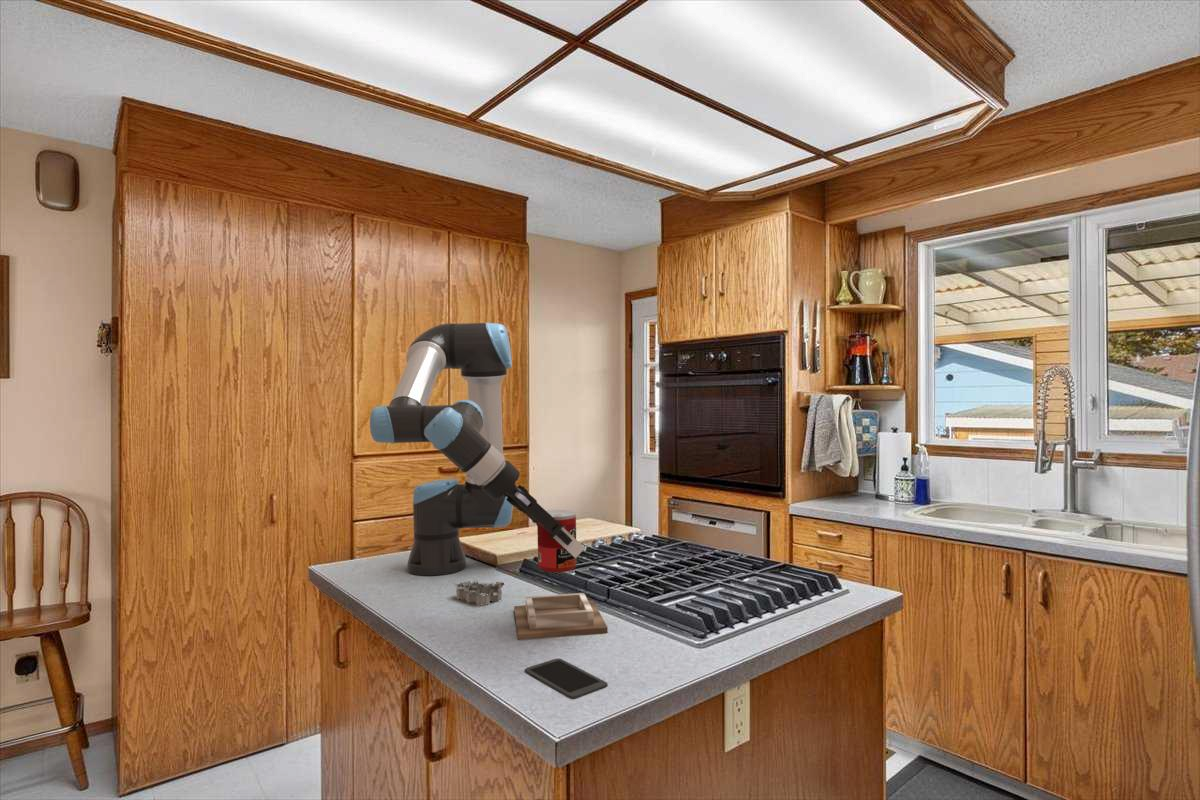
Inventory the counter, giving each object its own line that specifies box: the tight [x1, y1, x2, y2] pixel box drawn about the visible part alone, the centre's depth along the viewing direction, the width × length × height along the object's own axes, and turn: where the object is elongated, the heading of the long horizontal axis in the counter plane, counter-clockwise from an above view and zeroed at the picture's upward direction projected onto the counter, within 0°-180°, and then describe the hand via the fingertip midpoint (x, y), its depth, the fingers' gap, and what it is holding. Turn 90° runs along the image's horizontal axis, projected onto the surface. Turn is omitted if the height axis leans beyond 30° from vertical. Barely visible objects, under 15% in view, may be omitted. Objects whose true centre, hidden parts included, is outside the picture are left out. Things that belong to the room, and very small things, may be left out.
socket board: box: [513, 592, 609, 641], centre depth 135 cm, size 17×17×4 cm
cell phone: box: [524, 657, 609, 700], centre depth 108 cm, size 7×14×1 cm, turn 39°
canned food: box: [536, 509, 577, 573], centre depth 135 cm, size 8×8×11 cm
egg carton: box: [453, 580, 505, 606], centre depth 151 cm, size 11×8×4 cm
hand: (573, 547), depth 136 cm, fingers closed on canned food, 8 cm apart
